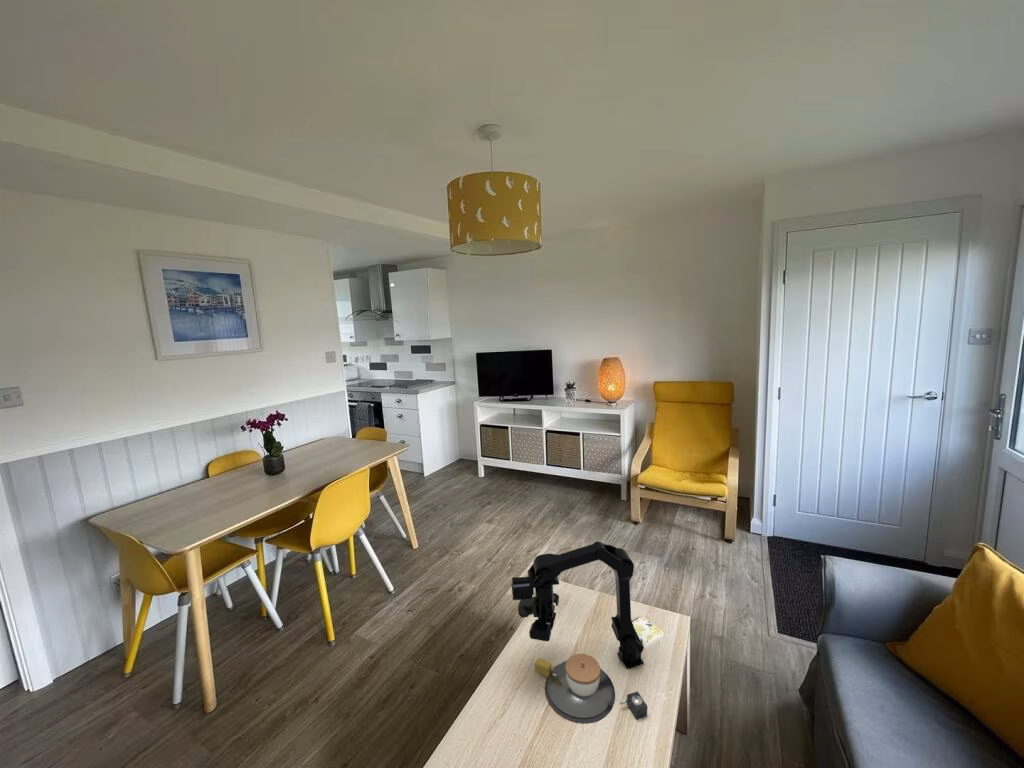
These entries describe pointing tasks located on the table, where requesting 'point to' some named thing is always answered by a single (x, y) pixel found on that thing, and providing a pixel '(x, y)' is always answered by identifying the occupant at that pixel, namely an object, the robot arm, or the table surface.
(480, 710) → the table surface
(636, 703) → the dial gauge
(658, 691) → the table surface
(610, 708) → the turntable base
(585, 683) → the lidded jar
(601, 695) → the turntable
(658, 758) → the table surface
